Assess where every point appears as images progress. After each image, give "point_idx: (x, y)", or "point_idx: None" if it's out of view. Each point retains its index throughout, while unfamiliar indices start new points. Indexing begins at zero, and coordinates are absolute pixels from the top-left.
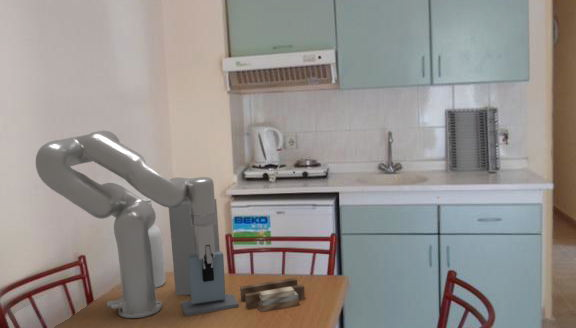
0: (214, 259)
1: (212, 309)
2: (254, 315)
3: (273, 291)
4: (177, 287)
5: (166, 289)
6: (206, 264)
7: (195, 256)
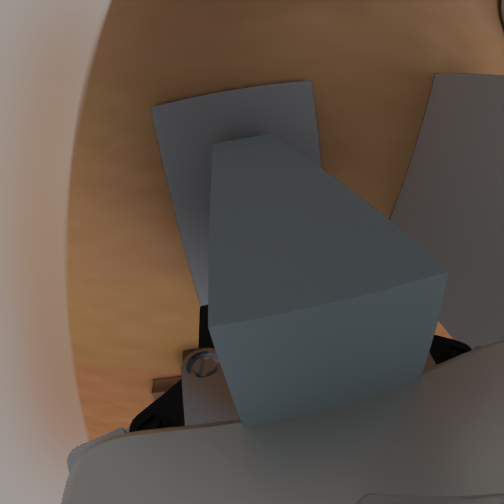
0: None
1: (182, 236)
2: (127, 363)
3: None
4: (455, 83)
5: (488, 54)
6: (131, 426)
7: (295, 406)
